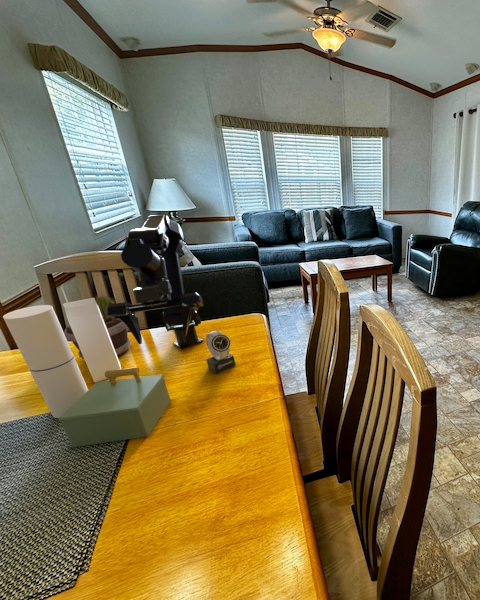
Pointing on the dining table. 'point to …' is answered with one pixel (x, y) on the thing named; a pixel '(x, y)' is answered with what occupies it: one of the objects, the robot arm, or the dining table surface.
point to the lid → (114, 395)
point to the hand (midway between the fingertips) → (163, 339)
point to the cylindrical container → (47, 356)
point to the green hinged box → (119, 422)
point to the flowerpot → (113, 326)
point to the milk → (92, 337)
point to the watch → (219, 352)
